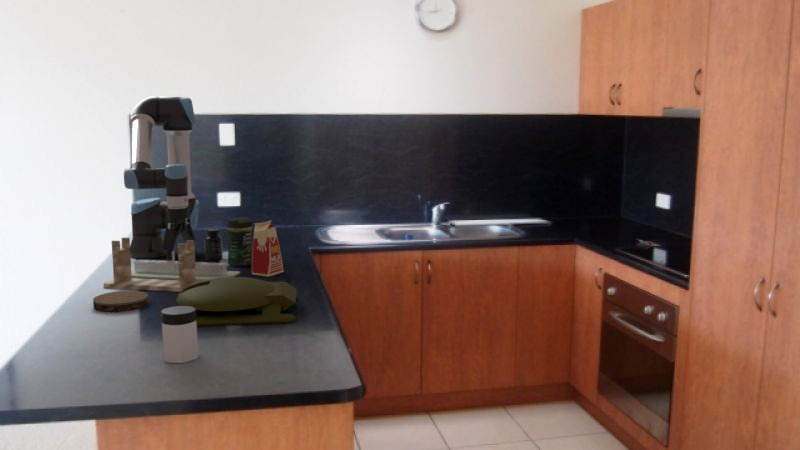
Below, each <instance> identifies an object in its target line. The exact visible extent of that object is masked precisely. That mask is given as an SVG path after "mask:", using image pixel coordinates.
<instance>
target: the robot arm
mask: <svg viewBox="0 0 800 450" xmlns="http://www.w3.org/2000/svg"><path fill="white" fill-rule="evenodd" d="M194 111H195V110H194V105H193V101H192V99H191V98H190V97H187V96H148V97H146V98H144V99H142V100H141V101H140V102H138V103H137V104H136V105H135V107H133V109H132V110H131V112H130V115H129V121H128V122H129V124H128V125H129V128H131V141H130V143H131V145H130V146H131V147H130V167H129V168H125V169H124V171H123V183H124V187H125V189H127V190H148V189H149V190H153V189H154V190H155V189H165V190H166V191H165V193H166V194H165V195H166V197H165V201H164V200H163V201H162V199H161V198H160V197H151V198H142V199H139V200H136V201H133V202H132V203H131V207H130V208H131V209H130V210H131V211H130V212H131V213H130V215H131V229H132V230H131V231H132V238H131V242H130V256H131V259H153V258H154V259H155V258H161V257H165V256H166V261H167V269H172V270H174V269H175V261H176V260H175V259H176V258H175V250H174V248H175V245H176V241H177V239H178V236H180V235H181V237H182V239H183V240H184V242H185V243H186V240H194V245H195V243H196V237H195V233H194V230H193V229H194V228H196V227H197V224H198V219H199V218H198V217H199V205H200V201H199V200H197V199H196V196H195V194H194V193H193V192H192V180H191V178H192V177H191V159H190V158H191V157H190V155H191V154H190V153H191V152H190V134H191V133H192V132H193V127H195V126H196V125H197V122H196V118H195V112H194ZM156 126H157V127H162V131H163V132H164V133H165V134H166V142H167V143H166V145H167V164H165V167H153V130H154V129H155V127H156ZM163 230H165V232H164V237H163ZM186 251H187V246H186Z"/></svg>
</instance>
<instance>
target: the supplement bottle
mask: <svg viewBox="0 0 800 450" xmlns="http://www.w3.org/2000/svg"><path fill="white" fill-rule="evenodd" d="M204 256H205V257H204V259H205V260H206V261H210V262H214V261H221V260H223V257H224V256H223V238H222V236H220V229H218V228H210V229H207V230H206V236H205V238H204Z"/></svg>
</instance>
